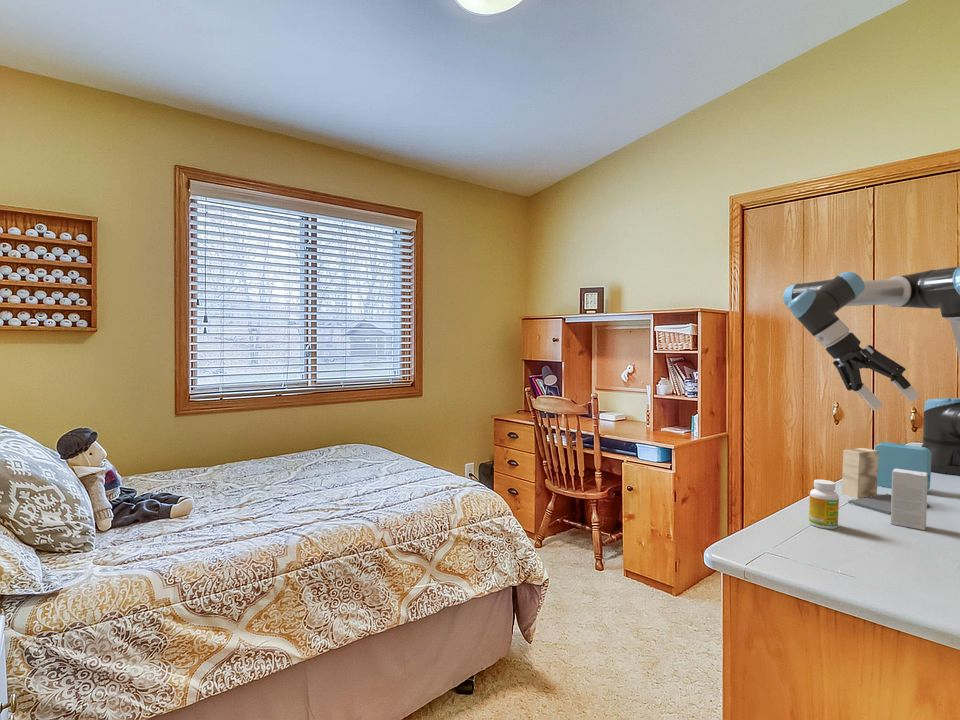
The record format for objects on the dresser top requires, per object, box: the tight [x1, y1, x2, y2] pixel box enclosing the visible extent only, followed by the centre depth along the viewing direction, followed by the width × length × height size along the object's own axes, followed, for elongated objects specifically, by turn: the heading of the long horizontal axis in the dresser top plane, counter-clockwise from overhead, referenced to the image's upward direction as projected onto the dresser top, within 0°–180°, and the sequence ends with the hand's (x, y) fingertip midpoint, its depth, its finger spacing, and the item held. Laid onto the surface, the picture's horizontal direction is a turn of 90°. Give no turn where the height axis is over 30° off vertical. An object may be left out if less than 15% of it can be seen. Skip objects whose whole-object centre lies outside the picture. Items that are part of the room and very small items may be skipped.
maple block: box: [841, 447, 879, 499], centre depth 142 cm, size 8×4×12 cm, turn 113°
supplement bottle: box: [808, 479, 840, 530], centre depth 119 cm, size 5×5×10 cm
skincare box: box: [890, 469, 928, 531], centre depth 119 cm, size 6×4×12 cm
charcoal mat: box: [847, 493, 930, 516], centre depth 134 cm, size 16×10×1 cm, turn 113°
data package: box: [873, 442, 932, 491], centre depth 149 cm, size 12×4×12 cm, turn 42°
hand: (896, 403), depth 141 cm, fingers open, 13 cm apart
